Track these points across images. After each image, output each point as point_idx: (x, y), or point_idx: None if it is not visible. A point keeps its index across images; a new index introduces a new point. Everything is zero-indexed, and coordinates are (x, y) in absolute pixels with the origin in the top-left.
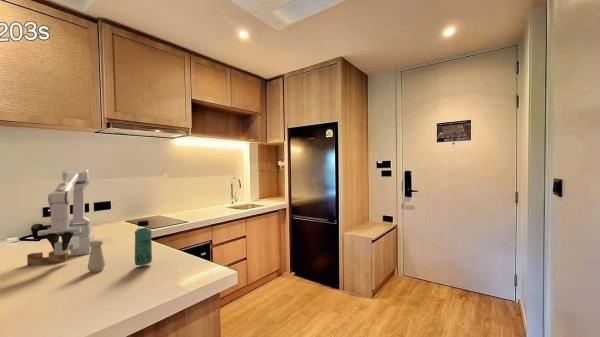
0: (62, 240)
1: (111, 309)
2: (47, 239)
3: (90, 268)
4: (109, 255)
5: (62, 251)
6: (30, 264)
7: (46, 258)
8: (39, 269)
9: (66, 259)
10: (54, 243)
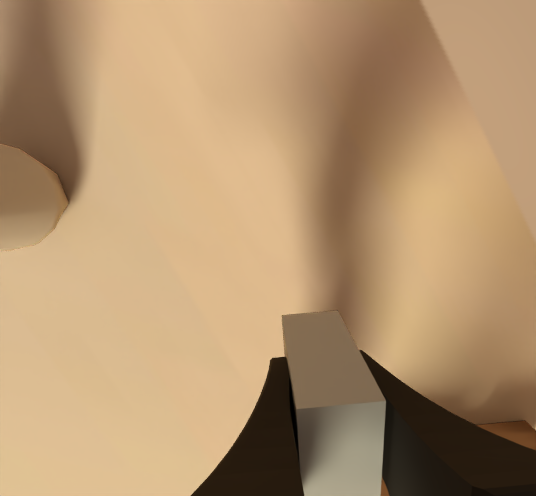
0: (289, 438)
1: None
2: (528, 451)
3: (10, 146)
4: (149, 478)
5: (284, 344)
6: (516, 427)
7: None
8: (426, 340)
9: None
10: (383, 398)
